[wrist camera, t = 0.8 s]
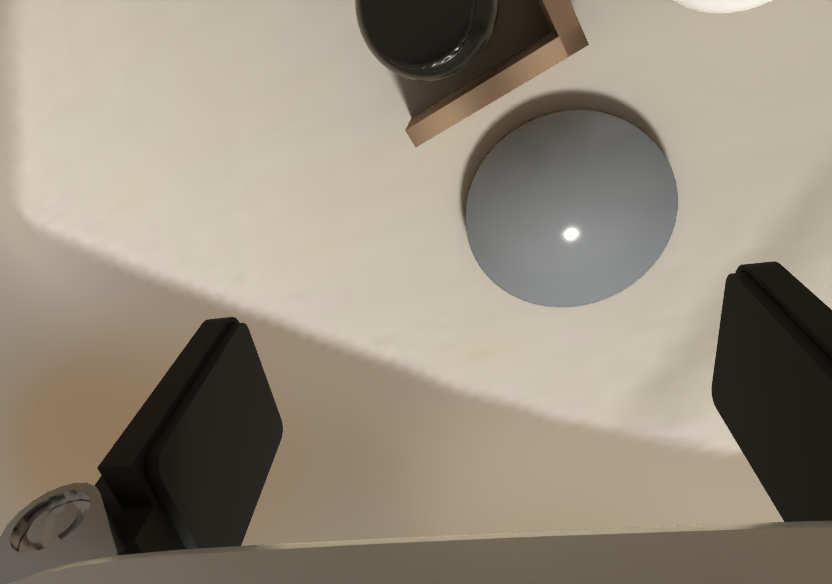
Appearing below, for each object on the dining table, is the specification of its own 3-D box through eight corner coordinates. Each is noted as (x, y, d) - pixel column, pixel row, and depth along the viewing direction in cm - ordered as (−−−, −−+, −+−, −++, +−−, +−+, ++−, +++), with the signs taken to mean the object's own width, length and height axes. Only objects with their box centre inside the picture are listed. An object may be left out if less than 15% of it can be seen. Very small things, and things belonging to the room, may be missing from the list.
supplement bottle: (469, -92, 31) (465, -130, 20) (512, 31, 34) (528, 53, 23) (361, -31, 33) (307, -38, 22) (410, 80, 36) (382, 121, 25)
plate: (625, 65, 34) (630, 68, 33) (701, 248, 39) (707, 255, 38) (429, 176, 38) (428, 181, 37) (520, 326, 44) (521, 335, 43)
